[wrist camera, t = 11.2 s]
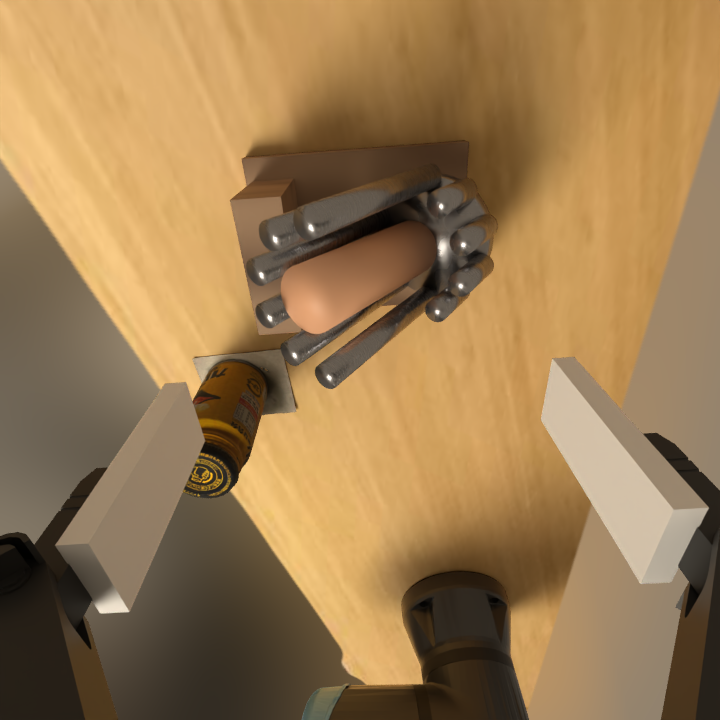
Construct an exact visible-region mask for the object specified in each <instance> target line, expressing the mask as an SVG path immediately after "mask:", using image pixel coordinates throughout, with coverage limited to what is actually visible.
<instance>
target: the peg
mask: <svg viewBox="0 0 720 720" xmlns="http://www.w3.org/2000/svg"><path fill="white" fill-rule="evenodd" d="M436 253H437V246H436V241H435V238H434V236H433V234H432V232H431V231H430V230H429V229H428V228H427V227H426V226H425V225H424V224H422V223H420V222H418V221H413V220H409V221H404V222H402V223H399V224H397V225H394V226H392V227H389V228H387V229H384V230H382V231H379V232H377V233H374V234H372V235H369V236H367V237H364V238H362V239H359V240H357V241H354V242H352V243H349V244H347V245H344V246H342V247H339V248H337V249H334V250H332V251H329V252H327V253H324V254H322V255H319V256H317V257H314V258H312V259H309V260H307V261H304V262H302V263H299V264H297V265H294V266H292V267H290V268H289V269H288V270H287V271H286V272H285V273H284V275H283V277H282V281H281V297H282V301H283V304H284V306H285V309H286V311H287V313H288V314H289V316H290V317H291V319H292V320H293V321H294V322H295V323H296V324H297V325H298V326H299V327H300V328H302V329H303V330H305V331H307V332H309V333H313V334H321V333H324V332H326V331H328V330H329V329H331V328H333V327H334V326H336V325H338V324H339V323H341V322H343V321H344V320H346V319H348V318H349V317H351V316H352V315H354V314H356V313H357V312H359V311H361V310H362V309H364V308H366V307H367V306H369V305H371V304H372V303H374V302H376V301H377V300H379V299H381V298H382V297H384V296H385V295H387V294H389V293H390V292H392V291H394V290H395V289H397V288H399V287H400V286H402V285H404V284H405V283H407V282H409V281H410V280H412V279H414V278H415V277H417V276H418V275H420V274H422V273H423V272H425V271H427V270H428V269H429V268H430V267H431V266H432V264H433V263H434V261H435V258H436Z"/></svg>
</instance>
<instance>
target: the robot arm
mask: <svg viewBox="0 0 720 720" xmlns="http://www.w3.org/2000/svg"><path fill="white" fill-rule="evenodd" d="M541 421H542V422H543V424H544V426H545V427H546V429H547V431H548V432H549V434H550V436H551V437H552V439H553V441H554V442H555V444H556V445H557V447H558V449H559V450H560V452H561V454H562V455H563V457H564V459H565V460H566V462H567V464H568V465H569V467H570V469H571V470H572V472H573V473H574V475H575V477H576V478H577V480H578V482H579V483H580V485H581V487H582V488H583V490H584V492H585V493H586V495H587V497H588V498H589V500H590V501H591V503H592V505H593V506H594V508H595V510H596V511H597V513H598V514H599V516H600V518H601V519H602V521H603V523H604V524H605V526H606V528H607V529H608V531H609V533H610V534H611V536H612V538H613V539H614V541H615V543H616V544H617V546H618V547H619V549H620V551H621V553H622V554H623V556H624V557H625V559H626V561H627V562H628V564H629V566H630V567H631V569H632V571H633V572H634V574H635V576H636V577H637V578H638V581H639V582H640V584H649V583H667V582H671V581H672V580H673V578H674V576H675V574H676V572H677V570H678V568H680V570H681V571H682V572H683V574H684V575H685V577H686V578H687V579H688V581H689V583H688V585H687V587H686V589H685V591H684V592H683V594H682V596H681V598H680V600H679V602H678V603H677V605H676V608H678V609H680V610H681V614H680V619H679V625H678V630H677V636H676V641H675V646H674V652H673V657H672V663H671V668H670V674H669V680H668V684H667V690H666V695H665V701H664V706H663V712H662V717H661V720H720V491H719V490H718V488H717V487H716V486H715V485H714V484H713V483H712V482H711V481H710V480H709V479H708V478H707V477H706V476H705V475H704V474H703V473H702V472H699V469H698V468H697V467H696V466H695V465H694V464H693V462H692V461H689V460H688V457H687V456H686V455H685V454H684V453H683V452H682V451H681V450H680V449H679V448H678V447H677V446H676V445H675V444H674V443H672V442H670V441H669V440H667V439H665V438H664V437H662V436H661V435H659V434H658V433H648V434H643V433H642V432H641V431H640V430H639V429H638V428H637V427H636V426H635V425H634V423H633V422H632V421H631V420H630V419H629V418H628V417H627V416H626V414H624V412H623V411H622V410H621V409H620V408H619V407H618V405H617V404H616V403H615V402H614V401H613V400H612V399H611V398H610V397H609V395H608V394H607V393H606V392H605V391H604V390H603V389H602V388H601V386H600V385H599V384H598V383H597V382H596V381H595V380H594V379H593V378H592V376H591V375H590V374H589V373H588V372H587V371H586V370H585V369H584V367H583V366H582V365H581V364H580V363H579V362H578V361H577V360H576V359H575V357H567V358H552V363H551V369H550V374H549V379H548V385H547V390H546V395H545V401H544V406H543V411H542V417H541ZM204 442H205V439H204V436H203V433H202V429H201V426H200V423H199V420H198V417H197V414H196V411H195V408H194V405H193V402H192V399H191V396H190V393H189V390H188V387H187V384H186V382H182V383H167V384H164V386H163V387H162V389H161V390H160V392H159V394H158V395H157V396H156V398H155V399H154V401H153V402H152V404H151V405H150V407H149V408H148V409H147V411H146V413H145V414H144V415H143V417H142V418H141V420H140V421H139V423H138V424H137V426H136V427H135V429H134V430H133V432H132V433H131V435H130V436H129V438H128V439H127V440H126V442H125V443H124V445H123V446H122V448H121V449H120V451H119V452H118V454H117V455H116V457H115V458H114V460H113V461H112V462H111V464H110V465H109V467H108V468H96V469H95V470H94V471H93V472H91V473H90V474H89V475H88V476H86V477H85V478H84V479H83V480H82V481H80V483H79V484H78V486H77V487H76V488H75V490H74V491H73V492H72V494H71V495H70V499H67V501H66V502H65V503H64V505H63V506H62V508H61V511H59V512H58V513H57V514H56V516H55V517H54V519H53V520H52V521H51V523H50V524H49V525H48V527H47V528H46V530H45V531H44V532H43V534H42V535H41V536H40V538H39V539H38V541H37V542H36V543H35V545H34V544H33V543H32V542H31V540H30V539H29V537H28V536H27V535H26V534H23V533H19V532H16V533H9V534H5V535H2V536H0V720H118V717H117V714H116V711H115V707H114V704H113V701H112V697H111V694H110V691H109V688H108V685H107V681H106V678H105V675H104V672H103V668H102V665H101V662H100V658H99V655H98V652H97V649H96V646H95V642H94V639H93V635H92V633H91V629H90V626H89V622H88V621H87V619H86V618H85V617H84V614H85V612H86V611H87V609H88V607H89V605H90V603H91V601H93V603H94V605H95V606H96V607H97V609H98V611H99V612H100V613H116V612H130V609H131V607H132V605H133V603H134V600H135V598H136V596H137V594H138V591H139V589H140V587H141V585H142V582H143V580H144V578H145V575H146V573H147V571H148V569H149V567H150V564H151V562H152V559H153V557H154V555H155V553H156V551H157V548H158V546H159V544H160V542H161V539H162V537H163V535H164V533H165V530H166V528H167V526H168V524H169V521H170V519H171V517H172V514H173V512H174V510H175V508H176V505H177V503H178V501H179V499H180V496H181V494H182V492H183V490H184V487H185V485H186V483H187V481H188V478H189V476H190V474H191V472H192V469H193V467H194V465H195V463H196V460H197V458H198V456H199V453H200V451H201V449H202V447H203V444H204ZM401 607H402V616H403V623H404V627H405V629H406V631H407V634H408V636H409V639H410V641H411V644H412V646H413V648H414V651H415V653H416V656H417V658H418V661H419V663H420V666H421V671H422V679H423V684H418V685H413V684H411V685H350V684H344V685H343V686H338V687H325V688H320V689H318V690H316V691H315V692H314V693H313V694H312V696H311V697H310V699H309V701H308V702H307V705H306V707H305V710H304V714H303V717H302V720H529V718H528V714H527V711H526V707H525V704H524V700H523V697H522V693H521V690H520V687H519V683H518V680H517V676H516V673H515V670H514V666H513V663H512V659H511V653H510V645H511V611H510V605H509V602H508V599H507V595H506V592H505V590H504V588H503V587H502V585H501V584H500V583H499V582H497V581H496V580H494V579H493V578H490V577H488V576H485V575H482V574H478V573H472V572H451V573H444V574H439V575H435V576H432V577H429V578H427V579H424V580H422V581H420V582H419V583H417V584H415V585H414V586H413V587H411V588H410V589H409V590H408V591H407V592H406V594H405V595H404V597H403V599H402V604H401Z"/></svg>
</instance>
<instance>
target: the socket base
mask: <svg viewBox="0 0 720 720" xmlns="http://www.w3.org/2000/svg"><path fill="white" fill-rule="evenodd" d="M468 148H469V142H468V141H452V142H439V143H426V144H412V145H399V146H386V147H372V148H359V149H346V150H332V151H319V152H306V153H292V154H279V155H266V156H253V157H244V158H243V159H242V164H243V169H244V174H245V179H246V184H247V186H246V187H245V188H244V189H243V190H242V191H240V192H239V193H238V194H237V195H236V196H235V197H233V198H232V199H231V200H230V202H231V207H232V212H233V216H234V221H235V226H236V230H237V235H238V240H239V244H240V249H241V254H242V258H243V263H244V268H245V272H246V277H247V282H248V286H249V291H250V296H251V300H252V305H253V310H254V314H255V319H256V324H257V328H258V333H259V335H267V334H282V333H297V332H301V331H302V328H300V327H299V326H298V325H297V324H296V323H295V322H294V321H293V320H292V319H291V317H290V318H288V319H287V320H285V321H283V322H282V323H280V324H278V325H277V326H275V327H273V328H266V327H264V326H263V325H262V324H261V323H260V322H259V320H258V318H257V316H256V312H255V309H256V306H257V304H259V303H261V302H263V301H265V300H267V299H268V298H270V297H272V296H274V295H276V294H278V293H280V292H281V281H282V277H283V276H282V277H280V278H278V279H276V280H274V281H272V282H270V283H268V284H266V285H264V286H258V285H256V284H255V283H253V282H252V280H251V279H250V278H249V276H248V273H247V270H246V263H247V261H248V260H249V259H250V258H252V257H255V256H257V255H260V254H262V253H265V252H267V251H269V250H268V249H267V248H266V247H265V246H264V245H263V243H262V241H261V239H260V236H259V225H260V223H261V222H262V221H263V220H266V219H269V218H272V217H275V216H278V215H281V214H284V213H287V212H290V211H293V210H296V209H297V208H298V207H300V206H302V205H305V204H308V203H311V202H314V201H317V200H320V199H323V198H326V197H329V196H332V195H335V194H339V193H342V192H345V191H348V190H351V189H354V188H357V187H360V186H363V185H366V184H369V183H372V182H375V181H378V180H381V179H384V178H387V177H390V176H393V175H396V174H399V173H402V172H405V171H408V170H411V169H414V168H417V167H420V166H423V165H426V164H430V163H431V164H435V165H436V166H438V167H439V169H440V171H441V174H447V175H451V176H454V177H456V178H459V179H462V178H467V165H468ZM379 231H382V229H380V230H378V231H375V232H373V233H371V234H369V235H372V234H374V233H377V232H379ZM369 235H367V236H369ZM367 236H365V237H367ZM363 238H364V237H363ZM361 239H362V238H361ZM415 292H416V291H415V290H413V289H411V288H409V287H408V286H407V287H406V288H405V289H404V290H402V291H401V292H400V293H398V294H397V295H396V296H394V297H393V298H391V299H390V300H389V301H387V302H386V303H384V304H383V305H382V306H387V305H399V304H400V303H401V302H403V301H404V300H405V299H407V298H408V297H409V296H411V295H412V294H413V293H415Z"/></svg>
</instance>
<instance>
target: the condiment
mask: <svg viewBox="0 0 720 720" xmlns="http://www.w3.org/2000/svg"><path fill="white" fill-rule="evenodd" d="M193 362H194V364H195V367H196V370H197V372H198V375H199V377H200V380H201V382H202V384H201V386H200V388H199V390H198V392H197V394H196V396H195V397H194V400H193V405H194V408H195V411H196V414H197V417H198V420H199V423H200V426H201V429H202V433H203V436H204V439H205V442H204V444H203V447H202V449H201V451H200V453H199V456H198V458H197V460H196V463H195V465H194V467H193V469H192V472H191V474H190V476H189V478H188V481H187V483H186V485H185V487H184V490H183V492H184V493H187V494H189V495H191V496H194V497H201V498H216V497H219V496H222V495H224V494H226V493H228V492H229V491H230V490H231V489H232V487H233V486H235V484H236V483H237V481H238V478H239V473H240V471H241V469H242V467H243V466H244V465H245V464H246V462H247V461H248V459H249V457H250V454H251V450H252V447H253V443H254V440H255V436H256V433H257V429H258V426H259V422H260V419H261V415H266V414H274V413H290V412H296V408H295V403H294V398H293V394H292V389H291V385H290V381H289V376H288V373H287V369H286V364H285V360H284V357H283V355H282V353H281V349H277V350H267V351H261V352H251V353H237V354H227V355H218V356H209V357H199V358H194V359H193ZM261 367H262V368H263V369H261ZM264 369H267V370H268V371H265V370H264Z"/></svg>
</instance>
